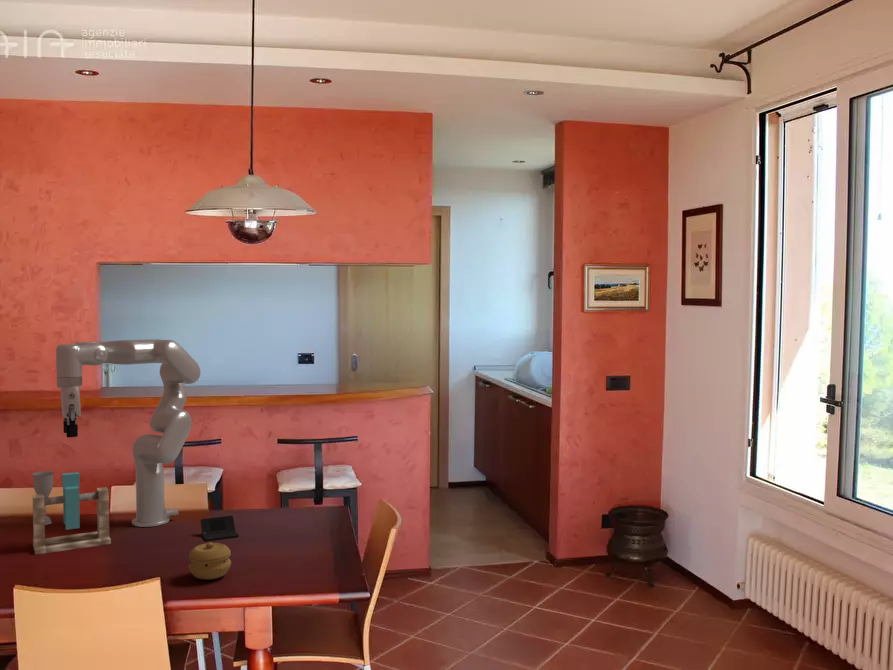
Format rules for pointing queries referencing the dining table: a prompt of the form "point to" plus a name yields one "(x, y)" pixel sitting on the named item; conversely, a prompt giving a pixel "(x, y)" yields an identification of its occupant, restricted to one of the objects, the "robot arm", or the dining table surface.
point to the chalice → (43, 487)
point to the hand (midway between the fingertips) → (70, 434)
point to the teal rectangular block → (71, 500)
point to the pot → (209, 560)
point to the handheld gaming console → (218, 528)
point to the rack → (101, 534)
